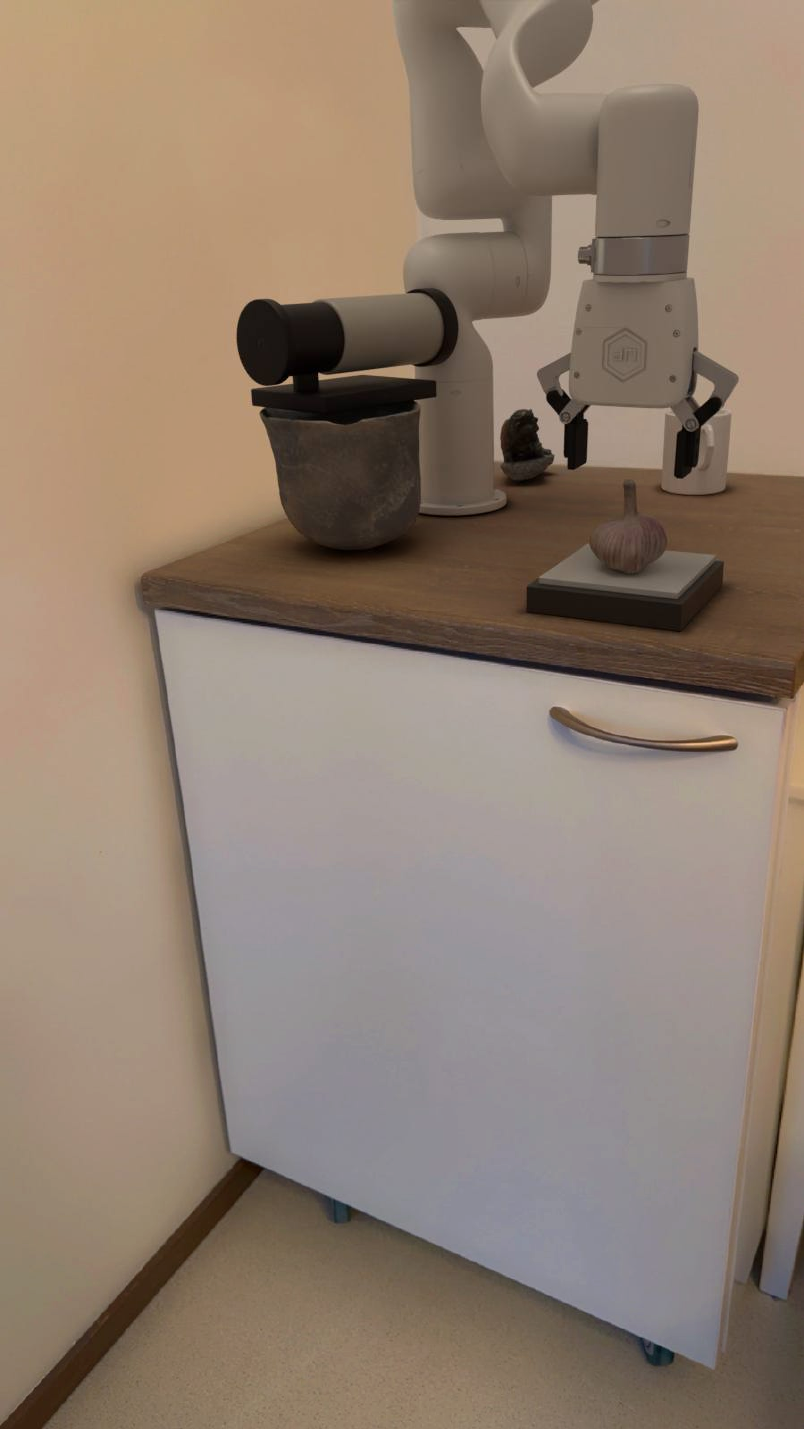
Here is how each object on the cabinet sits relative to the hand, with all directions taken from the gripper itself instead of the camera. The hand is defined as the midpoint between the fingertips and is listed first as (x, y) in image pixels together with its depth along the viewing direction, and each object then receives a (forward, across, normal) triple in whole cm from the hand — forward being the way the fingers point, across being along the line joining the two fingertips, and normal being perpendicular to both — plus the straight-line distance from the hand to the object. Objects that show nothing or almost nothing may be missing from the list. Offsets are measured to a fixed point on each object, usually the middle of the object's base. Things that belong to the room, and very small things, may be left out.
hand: (628, 471), depth 94 cm
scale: (+12, +1, -1) cm, 12 cm away
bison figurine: (+13, -29, +46) cm, 56 cm away
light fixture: (-9, -38, -1) cm, 39 cm away
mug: (+13, -5, +45) cm, 47 cm away
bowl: (+12, -34, +7) cm, 37 cm away
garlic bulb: (+9, 0, 0) cm, 9 cm away
